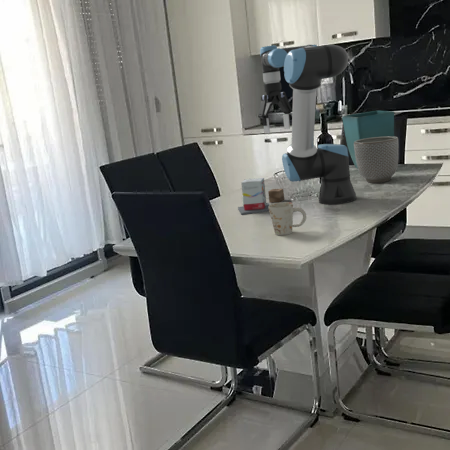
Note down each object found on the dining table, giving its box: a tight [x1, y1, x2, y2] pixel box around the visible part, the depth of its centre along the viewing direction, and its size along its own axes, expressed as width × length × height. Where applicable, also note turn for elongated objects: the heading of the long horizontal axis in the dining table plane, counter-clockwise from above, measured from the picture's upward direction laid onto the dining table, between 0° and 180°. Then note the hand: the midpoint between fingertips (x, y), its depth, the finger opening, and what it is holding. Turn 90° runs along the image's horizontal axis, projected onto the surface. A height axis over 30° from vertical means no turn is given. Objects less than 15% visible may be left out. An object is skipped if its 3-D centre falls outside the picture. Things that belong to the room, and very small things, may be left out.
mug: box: [268, 201, 307, 236], centre depth 216 cm, size 8×13×10 cm, turn 95°
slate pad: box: [237, 202, 270, 216], centre depth 260 cm, size 13×13×1 cm
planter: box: [354, 135, 399, 184], centre depth 286 cm, size 20×20×19 cm
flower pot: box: [341, 110, 395, 170], centre depth 319 cm, size 20×20×28 cm
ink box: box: [240, 177, 267, 210], centre depth 259 cm, size 9×9×12 cm
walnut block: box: [268, 188, 285, 204], centre depth 272 cm, size 5×5×5 cm
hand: (277, 131), depth 280 cm, fingers open, 13 cm apart
